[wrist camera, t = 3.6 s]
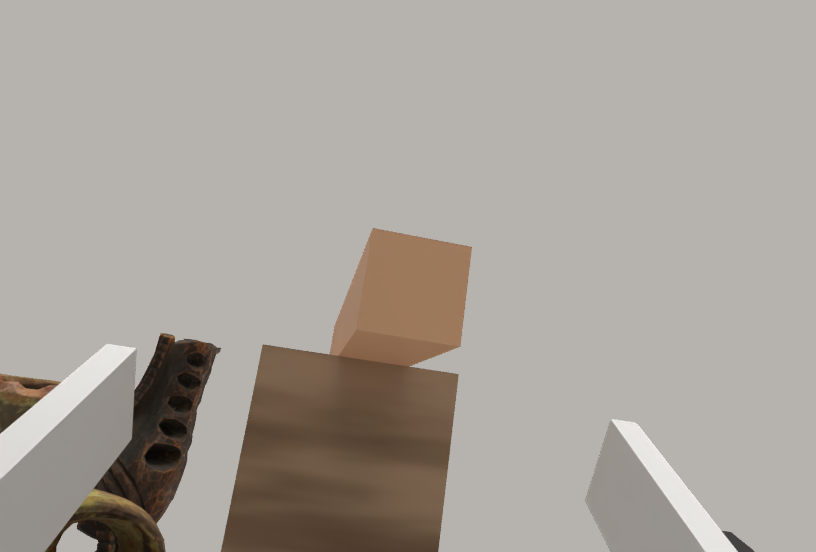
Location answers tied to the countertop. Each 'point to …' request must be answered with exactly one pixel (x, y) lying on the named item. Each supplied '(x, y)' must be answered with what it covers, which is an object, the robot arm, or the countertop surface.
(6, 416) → the ceramic vessel
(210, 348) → the statue
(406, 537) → the walnut stand
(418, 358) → the bar
